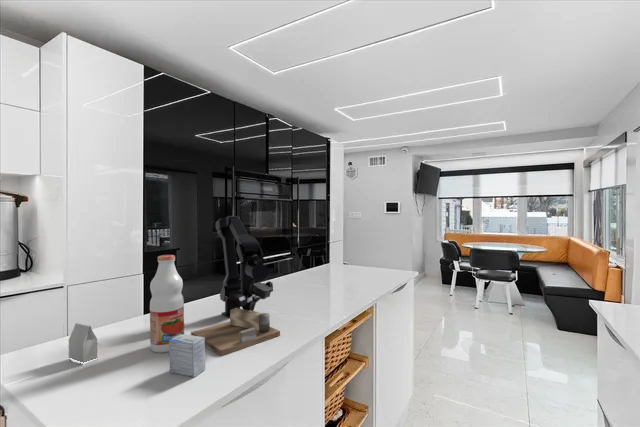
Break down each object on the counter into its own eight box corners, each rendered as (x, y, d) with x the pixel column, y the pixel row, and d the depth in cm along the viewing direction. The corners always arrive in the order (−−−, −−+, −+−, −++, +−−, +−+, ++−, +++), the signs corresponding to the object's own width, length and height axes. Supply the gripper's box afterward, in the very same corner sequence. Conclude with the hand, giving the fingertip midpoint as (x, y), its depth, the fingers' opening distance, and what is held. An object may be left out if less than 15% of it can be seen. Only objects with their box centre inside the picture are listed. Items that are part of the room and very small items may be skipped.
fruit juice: (166, 339, 105) (165, 253, 105) (190, 342, 102) (189, 254, 102) (143, 351, 96) (141, 257, 96) (168, 355, 93) (167, 258, 93)
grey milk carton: (83, 365, 87) (82, 328, 87) (68, 360, 90) (68, 325, 90) (97, 359, 91) (96, 324, 91) (83, 355, 93) (82, 321, 93)
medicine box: (206, 369, 84) (205, 336, 84) (194, 378, 80) (193, 343, 80) (181, 365, 86) (181, 333, 86) (169, 373, 82) (168, 339, 82)
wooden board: (191, 336, 107) (190, 322, 107) (246, 320, 122) (245, 308, 122) (221, 355, 92) (221, 340, 92) (280, 335, 107) (279, 321, 107)
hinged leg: (271, 328, 108) (271, 314, 108) (265, 332, 105) (264, 317, 105) (237, 321, 116) (236, 307, 116) (229, 324, 112) (229, 310, 112)
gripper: (251, 283, 103) (252, 331, 103) (281, 271, 120) (282, 313, 121) (224, 280, 107) (225, 326, 108) (256, 269, 125) (257, 309, 125)
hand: (249, 318), depth 115 cm, fingers closed
